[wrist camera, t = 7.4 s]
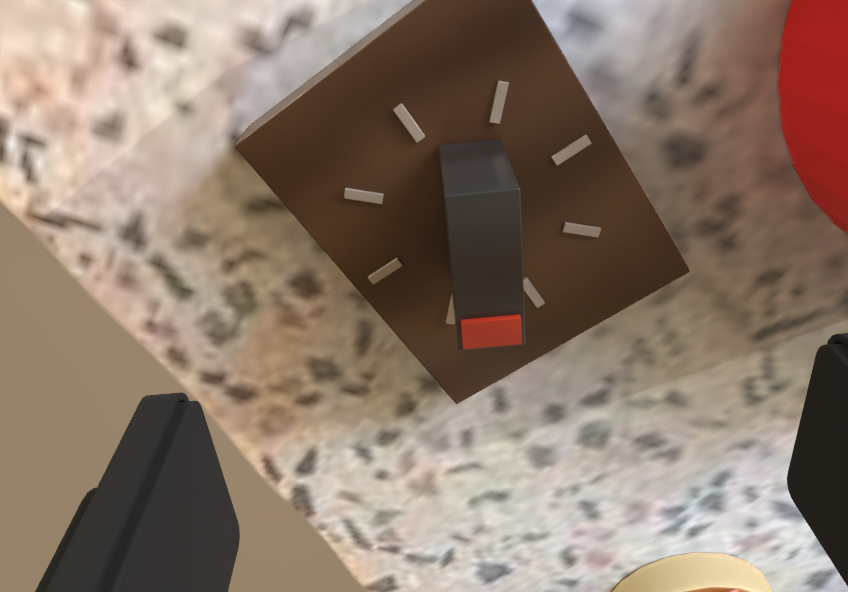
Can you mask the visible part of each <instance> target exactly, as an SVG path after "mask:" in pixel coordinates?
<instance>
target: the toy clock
mask: <svg viewBox="0 0 848 592" xmlns="http://www.w3.org/2000/svg"><path fill="white" fill-rule="evenodd" d="M778 94H779V105H780V117H781V128H782V131H783V135H784V138H785V141H786V145H787V148H788V152H789V155H790V158H791V162H792V165H793V167H794V169H795V171H796V173H797V174H798V176H799V178H800V180H801V182H802V183H803V185H804V187H805V189H806V191H807V192H808V194H809V196H810V198H811V199H812V200H813V201H814V202H815V203H816V204H817V205H818V207H819V208H820V209H821V210H822V211H823V212H824V213H825V214H826V215H827V216H828V218H829V219H830V220H831V221H832V222H833V223H834V224H835V225H836V226H838V227H839V228H841V229H842V230H843V231H845V232H846V233H847V234H848V0H791V4H790V7H789V11H788V15H787V19H786V23H785V27H784V31H783V34H782V43H781V54H780V65H779V75H778Z"/></svg>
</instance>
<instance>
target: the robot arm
mask: <svg viewBox="0 0 848 592" xmlns="http://www.w3.org/2000/svg"><path fill="white" fill-rule="evenodd" d="M787 484H788V489H789V493H790V495H791V498H792V500H793V501H794V503H795V505H796V506H797V508H798V509H799V511H800V512H801V514H802V515H803V517H804V519H805V520H806V522H807V523H808V525H809V526H810V528H811V530H812V531H813V533H814V534H815V536H816V537H817V539H818V540H819V542H820V544H821V545H822V547H823V548H824V550H825V551H826V553H827V555H828V556H829V558H830V559H831V561H832V562H833V564H834V566H835V567H836V569H837V570H838V572H839V573H840V575H841V576H842V578H843V580H844V581H845V583H846V584H847V586H848V333H843V334H836V335H833V336H832V337H831V338H830V339H829V340H828V343H827V345H822V346H820V348H819V349H818V351H817V353H816V357H815V361H814V365H813V370H812V374H811V378H810V382H809V386H808V391H807V395H806V399H805V403H804V407H803V412H802V416H801V420H800V424H799V428H798V433H797V437H796V441H795V445H794V449H793V454H792V458H791V462H790V466H789V470H788V475H787ZM239 538H240V537H239V524H238V520H237V517H236V514H235V511H234V508H233V505H232V501H231V498H230V495H229V492H228V489H227V486H226V483H225V479H224V476H223V473H222V470H221V467H220V464H219V461H218V457H217V454H216V451H215V448H214V445H213V442H212V438H211V435H210V432H209V429H208V426H207V423H206V419H205V416H204V414H203V410H202V407H201V405H200V403H199V402H198V401H189V399H188V397H187V396H186V395H185V394H184V393H171V394H160V395H149V396H145V397H143V398H142V400H141V401H140V403H139V405H138V407H137V409H136V411H135V413H134V415H133V417H132V419H131V421H130V423H129V425H128V427H127V429H126V431H125V433H124V435H123V437H122V439H121V441H120V443H119V445H118V447H117V449H116V451H115V453H114V455H113V457H112V459H111V461H110V463H109V465H108V467H107V469H106V471H105V473H104V475H103V477H102V479H101V481H100V483H99V485H98V487H97V488H94V489H92V490H91V491H89V492H88V493H87V494H86V496H85V497H84V499H83V500H82V502H81V504H80V506H79V508H78V510H77V511H76V514H75V516H74V517H73V519H72V521H71V523H70V525H69V527H68V529H67V531H66V533H65V535H64V537H63V539H62V541H61V543H60V544H59V546H58V548H57V550H56V552H55V554H54V556H53V558H52V560H51V562H50V564H49V566H48V568H47V570H46V572H45V574H44V576H43V578H42V580H41V581H40V583H39V585H38V587H37V589H36V591H35V592H228V589H229V584H230V580H231V576H232V572H233V568H234V563H235V559H236V555H237V551H238V547H239Z"/></svg>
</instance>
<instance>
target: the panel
mask: <svg viewBox="0 0 848 592" xmlns="http://www.w3.org/2000/svg"><path fill="white" fill-rule="evenodd" d="M493 139H501V142H502V144H503V147H504V149H505V152H506V154H507V157H508V159H509V162H510V164H511V167H512V169H513V172H514V175H515V177H516V180H517V182H518V185H519V187H520V194H521V224H522V253H523V283H524V313H525V342H526V343H525V344H524V345H514V346H503V347H493V348H482V349H471V350H458V343H457V334H456V325H455V316H454V307H453V298H452V289H451V280H450V270H449V258H448V247H447V236H446V225H445V214H444V203H443V192H442V181H441V170H440V159H439V148H438V146H439V145H444V144H454V143H464V142H474V141H483V140H493ZM235 148H236V149H237V150H238V151H239V152H240V153H241V155H242V156H243V157H244V158H245V159H246V160H247V162H248V163H249V164H250V165H251V166H252V167H253V169H254V170H255V171H256V172H257V173H258V174H259V176H260V177H261V178H262V179H263V180H264V181H265V182H266V184H267V185H268V186H269V187H270V188H271V189H272V191H273V192H274V193H275V194H276V195H277V196H278V198H279V199H280V200H281V201H282V202H283V203H284V205H285V206H286V207H287V208H288V209H289V210H290V211H291V213H292V214H293V215H294V216H295V217H296V218H297V220H298V221H299V222H300V223H301V224H302V225H303V227H304V228H305V229H306V230H307V231H308V232H309V234H310V235H311V236H312V237H313V238H314V239H315V240H316V242H317V243H318V244H319V245H320V246H321V247H322V249H323V250H324V251H325V252H326V253H327V254H328V256H329V257H330V258H331V259H332V260H333V261H334V263H335V264H336V265H337V266H338V267H339V268H340V270H341V271H342V272H343V273H344V274H345V275H346V276H347V278H348V279H349V280H350V281H351V282H352V283H353V285H354V286H355V287H356V288H357V289H358V290H359V292H360V293H361V294H362V295H363V296H364V297H365V299H366V300H367V301H368V302H369V303H370V304H371V305H372V307H373V308H374V309H375V310H376V311H377V312H378V314H379V315H380V316H381V317H382V318H383V319H384V321H385V322H386V323H387V324H388V325H389V326H390V328H391V329H392V330H393V331H394V332H395V333H396V335H397V336H398V337H399V338H400V339H401V340H402V341H403V343H404V344H405V345H406V346H407V347H408V348H409V350H410V351H411V352H412V353H413V354H414V355H415V357H416V358H417V359H418V360H419V361H420V362H421V364H422V365H423V366H424V367H425V368H426V369H427V370H428V372H429V373H430V374H431V375H432V376H433V377H434V379H435V380H436V381H437V382H438V383H439V384H440V386H441V387H442V388H443V389H444V390H445V391H446V393H447V394H448V395H449V396H450V397H451V398H452V400H453V401H454V402H455V403H456V404H458V403H459V402H461V401H463V400H465V399H466V398H468V397H470V396H472V395H474V394H475V393H477V392H479V391H481V390H482V389H484V388H486V387H488V386H489V385H491V384H493V383H495V382H496V381H498V380H500V379H502V378H503V377H505V376H507V375H509V374H510V373H512V372H514V371H516V370H518V369H519V368H521V367H523V366H525V365H526V364H528V363H530V362H532V361H533V360H535V359H537V358H539V357H540V356H542V355H544V354H546V353H547V352H549V351H551V350H553V349H555V348H556V347H558V346H560V345H562V344H563V343H565V342H567V341H569V340H570V339H572V338H574V337H576V336H577V335H579V334H581V333H583V332H584V331H586V330H588V329H590V328H591V327H593V326H595V325H597V324H599V323H600V322H602V321H604V320H606V319H607V318H609V317H611V316H613V315H614V314H616V313H618V312H620V311H621V310H623V309H625V308H627V307H628V306H630V305H632V304H634V303H635V302H637V301H639V300H641V299H643V298H644V297H646V296H648V295H650V294H651V293H653V292H655V291H657V290H658V289H660V288H662V287H664V286H665V285H667V284H669V283H671V282H672V281H674V280H676V279H678V278H680V277H681V276H683V275H685V274H687V273H688V272H690V270H689V268H688V266H687V265H686V263H685V261H684V260H683V258H682V256H681V254H680V253H679V251H678V249H677V248H676V246H675V244H674V242H673V241H672V239H671V237H670V236H669V234H668V232H667V231H666V229H665V227H664V225H663V224H662V222H661V220H660V219H659V217H658V215H657V213H656V212H655V210H654V208H653V207H652V205H651V203H650V201H649V200H648V198H647V196H646V195H645V193H644V191H643V189H642V188H641V186H640V184H639V183H638V181H637V179H636V177H635V176H634V174H633V172H632V171H631V169H630V167H629V166H628V164H627V162H626V160H625V159H624V157H623V155H622V154H621V152H620V150H619V148H618V147H617V145H616V143H615V142H614V140H613V138H612V136H611V135H610V133H609V131H608V130H607V128H606V126H605V124H604V123H603V121H602V119H601V118H600V116H599V114H598V112H597V111H596V109H595V107H594V106H593V104H592V102H591V101H590V99H589V97H588V95H587V94H586V92H585V90H584V89H583V87H582V85H581V83H580V82H579V80H578V78H577V77H576V75H575V73H574V71H573V70H572V68H571V66H570V65H569V63H568V61H567V59H566V58H565V56H564V54H563V53H562V51H561V49H560V47H559V46H558V44H557V42H556V41H555V39H554V37H553V36H552V34H551V32H550V30H549V29H548V27H547V25H546V24H545V22H544V20H543V18H542V17H541V15H540V13H539V12H538V10H537V8H536V6H535V5H534V3H533V1H532V0H412V1H411V2H410V3H409V4H407V5H406V6H405V7H403V8H402V9H401V10H399V11H398V12H397V13H395V14H394V15H393V16H392V17H390V18H389V19H388V20H386V21H385V22H384V23H382V24H381V25H380V26H379V27H377V28H376V29H375V30H373V31H372V32H371V33H369V34H368V35H367V36H366V37H364V38H363V39H362V40H360V41H359V42H358V43H356V44H355V45H354V46H352V47H351V48H350V49H349V50H347V51H346V52H345V53H343V54H342V55H341V56H339V57H338V58H337V59H336V60H334V61H333V62H332V63H330V64H329V65H328V66H326V67H325V68H324V69H323V70H321V71H320V72H319V73H317V74H316V75H315V76H313V77H312V78H311V79H309V80H308V81H307V82H306V83H304V84H303V85H302V86H300V87H299V88H298V89H296V90H295V91H294V92H293V93H291V94H290V95H289V96H287V97H286V98H285V99H283V100H282V101H281V102H280V103H278V104H277V105H276V106H274V107H273V108H272V109H270V110H269V111H268V112H266V113H265V114H264V115H263V116H261V117H260V118H259V119H257V120H256V121H255V122H253V123H252V124H251V125H250V126H248V128H247V129H246V130H245V132H244V133H243V135H242V136H241V137H240V139H239V140H238V141H237V143H236V144H235Z"/></svg>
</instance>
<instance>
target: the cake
mask: <svg viewBox="0 0 848 592" xmlns="http://www.w3.org/2000/svg"><path fill="white" fill-rule="evenodd" d="M612 592H772V590H771V588H770V586H769V584H768V582H767V581H766V579H765V577H764V575H763V573H762V572H761V571H759V570H758V569H757V568H755V567H754V566H752V565H751V564H750V563H748V562H747V561H745V560H742V559H739V558H736V557H733V556H729V555H726V554H723V553H703V552H694V553H688V554H682V555H676V556H670V557H666V558H663V559H661V560H658V561H656V562H653V563H651V564H648V565H646V566H643V567H641V568H640V569H638V570H637V571H635V572H634V573H632V574H631V575H629V576H628V577H626V578H625V579H623V580H622V581H621V582H620V583H619V584H618V585H617V587H616V588H615V589H614V590H613V591H612Z"/></svg>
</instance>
